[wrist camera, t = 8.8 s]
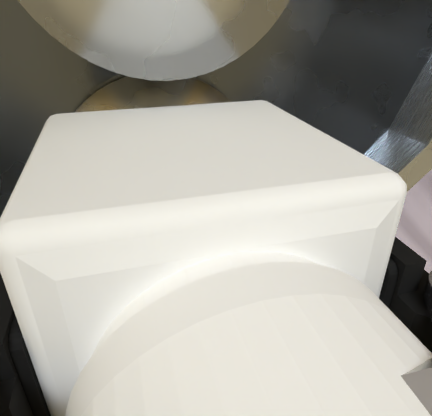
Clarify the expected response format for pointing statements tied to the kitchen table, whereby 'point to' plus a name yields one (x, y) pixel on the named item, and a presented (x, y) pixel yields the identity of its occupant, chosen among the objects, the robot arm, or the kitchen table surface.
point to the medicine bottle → (206, 267)
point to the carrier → (223, 67)
